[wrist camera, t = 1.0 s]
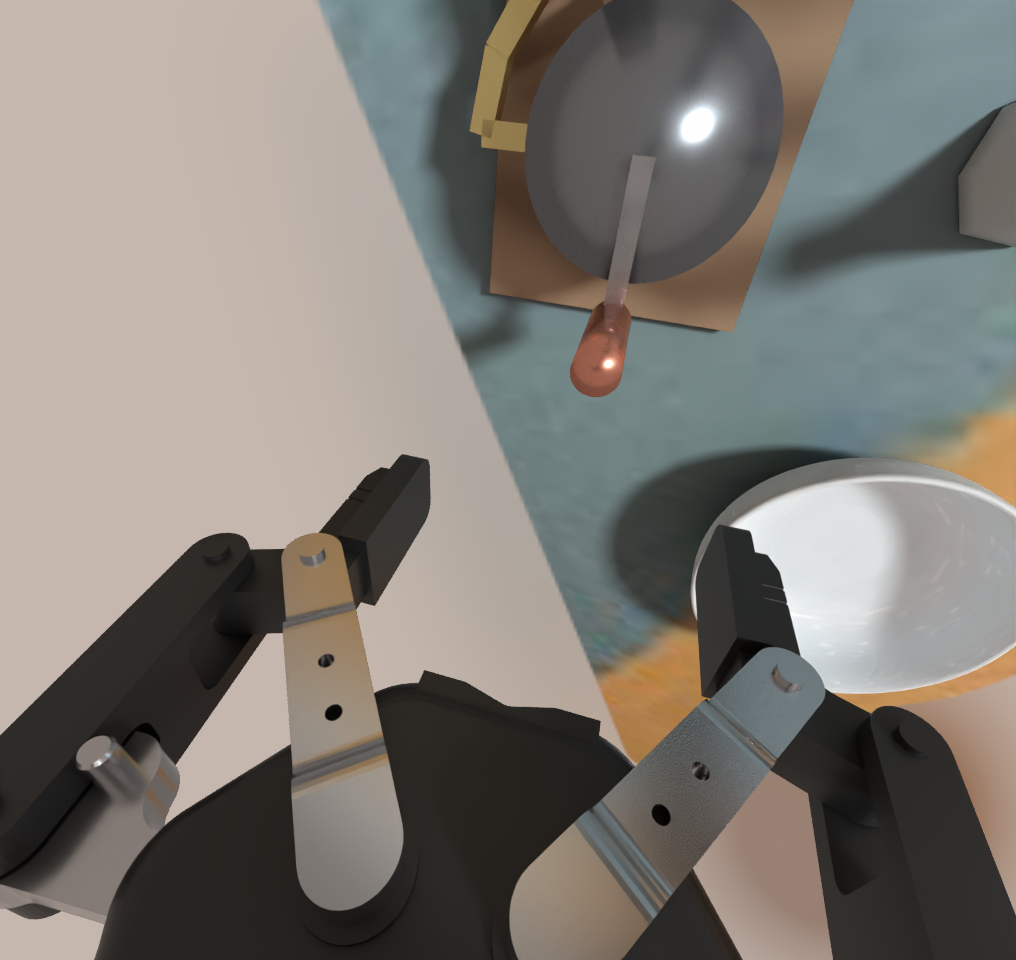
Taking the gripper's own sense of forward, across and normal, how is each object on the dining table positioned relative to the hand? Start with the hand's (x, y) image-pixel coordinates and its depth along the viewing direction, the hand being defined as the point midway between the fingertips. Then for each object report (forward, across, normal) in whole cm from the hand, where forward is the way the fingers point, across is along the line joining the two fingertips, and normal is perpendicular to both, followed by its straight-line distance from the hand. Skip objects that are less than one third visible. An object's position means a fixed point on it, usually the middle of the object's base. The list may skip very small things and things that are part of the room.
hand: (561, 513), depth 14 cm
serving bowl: (+24, -20, +16) cm, 35 cm away
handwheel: (+23, +2, -8) cm, 24 cm away
